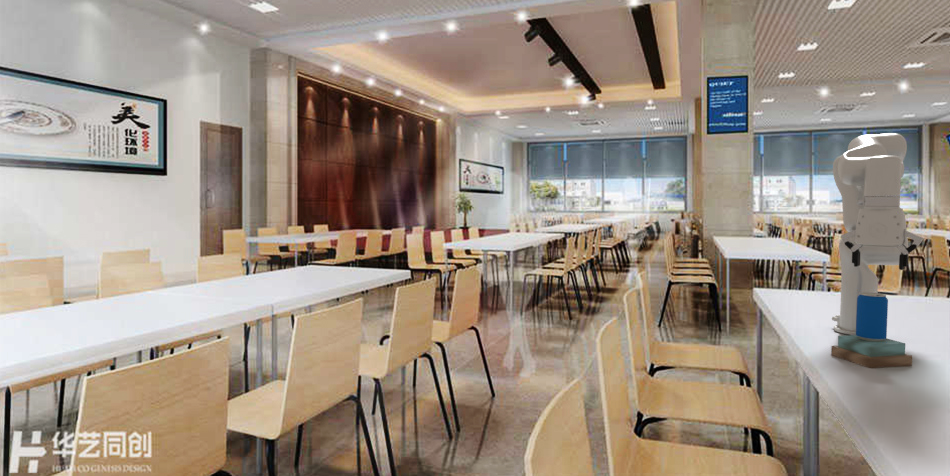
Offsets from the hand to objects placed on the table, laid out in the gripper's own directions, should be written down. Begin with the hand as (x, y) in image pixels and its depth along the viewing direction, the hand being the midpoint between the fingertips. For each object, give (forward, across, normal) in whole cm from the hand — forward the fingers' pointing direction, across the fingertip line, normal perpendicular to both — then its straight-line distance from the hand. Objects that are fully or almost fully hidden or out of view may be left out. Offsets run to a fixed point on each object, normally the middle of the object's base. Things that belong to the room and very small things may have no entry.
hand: (878, 267), depth 140 cm
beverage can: (+19, 0, -4) cm, 19 cm away
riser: (+24, 0, -4) cm, 25 cm away
